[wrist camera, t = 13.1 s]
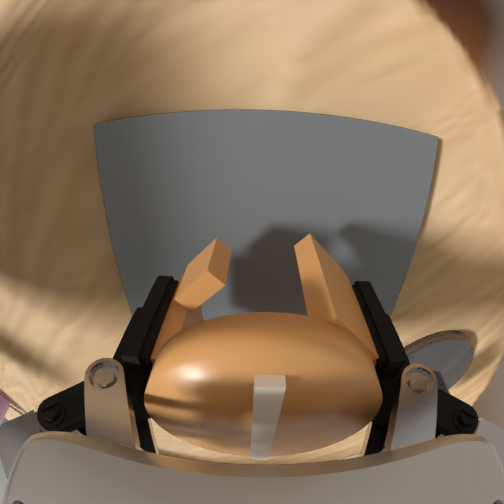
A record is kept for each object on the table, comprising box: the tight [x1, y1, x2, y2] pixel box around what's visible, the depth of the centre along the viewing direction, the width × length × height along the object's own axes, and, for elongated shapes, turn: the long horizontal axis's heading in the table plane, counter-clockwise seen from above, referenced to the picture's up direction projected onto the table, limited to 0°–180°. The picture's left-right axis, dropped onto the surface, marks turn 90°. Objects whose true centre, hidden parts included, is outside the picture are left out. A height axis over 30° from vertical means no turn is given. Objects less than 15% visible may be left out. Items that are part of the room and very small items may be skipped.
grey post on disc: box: [404, 331, 474, 394], centre depth 14 cm, size 10×10×8 cm
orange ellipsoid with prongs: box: [144, 234, 383, 460], centre depth 8 cm, size 6×6×6 cm
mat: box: [94, 110, 439, 320], centre depth 12 cm, size 14×14×1 cm
